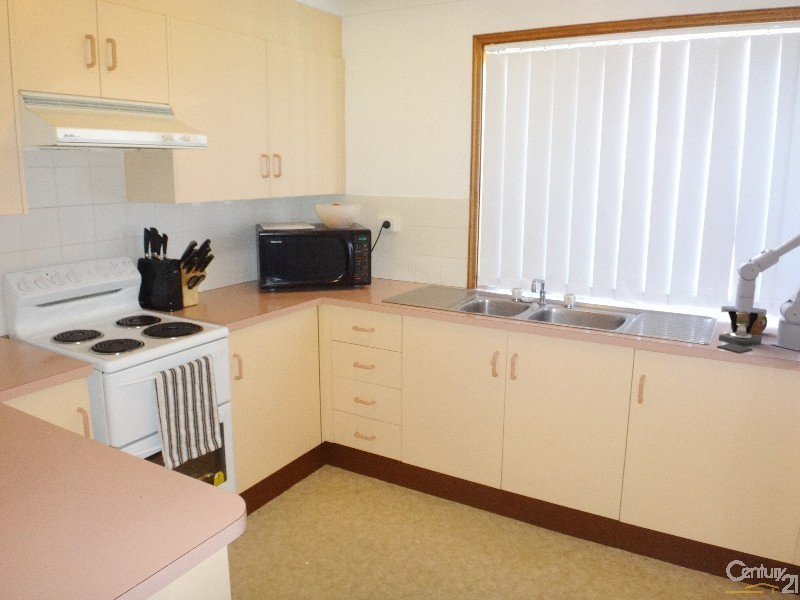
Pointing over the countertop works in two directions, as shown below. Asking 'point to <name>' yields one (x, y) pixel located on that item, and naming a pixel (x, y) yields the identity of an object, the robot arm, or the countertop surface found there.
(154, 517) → the countertop surface
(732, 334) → the door knob
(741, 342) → the frame
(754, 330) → the orange patterned rounded block
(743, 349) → the mat
